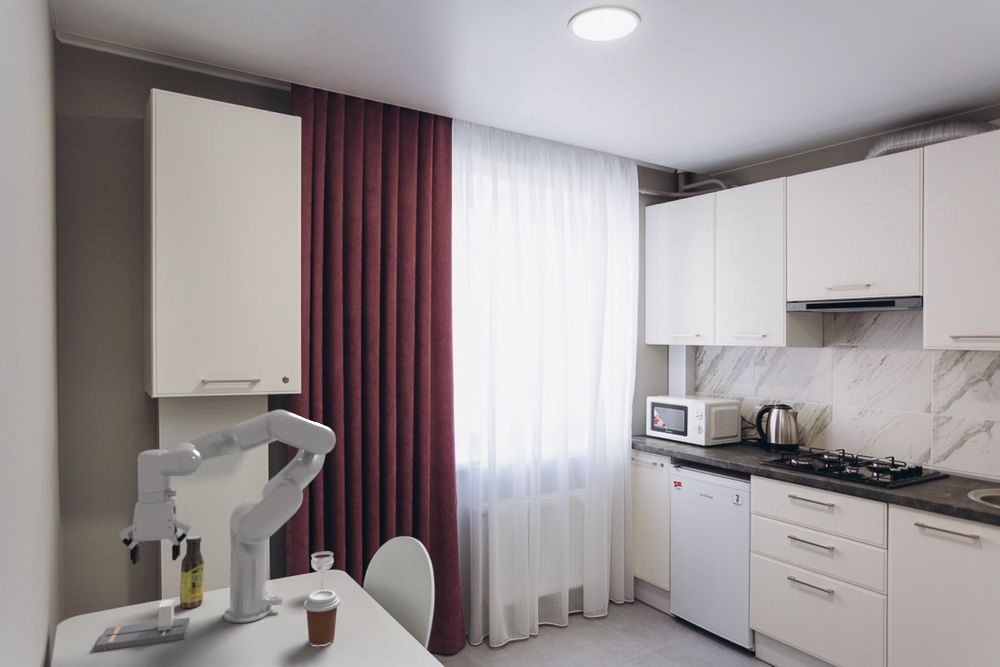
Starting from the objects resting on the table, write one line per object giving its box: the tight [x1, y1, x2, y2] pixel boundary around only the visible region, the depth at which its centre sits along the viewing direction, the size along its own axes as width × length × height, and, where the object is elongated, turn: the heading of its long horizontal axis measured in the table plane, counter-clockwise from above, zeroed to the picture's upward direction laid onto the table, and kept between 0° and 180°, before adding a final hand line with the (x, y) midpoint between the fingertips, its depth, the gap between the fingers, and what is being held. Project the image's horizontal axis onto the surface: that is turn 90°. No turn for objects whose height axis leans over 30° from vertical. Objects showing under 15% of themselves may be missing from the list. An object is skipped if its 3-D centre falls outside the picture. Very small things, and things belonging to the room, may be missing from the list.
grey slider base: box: [95, 617, 191, 652], centre depth 164 cm, size 20×10×2 cm, turn 109°
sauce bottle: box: [179, 535, 205, 609], centre depth 184 cm, size 6×6×20 cm
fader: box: [157, 599, 175, 631], centre depth 165 cm, size 3×5×6 cm, turn 19°
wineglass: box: [310, 550, 335, 590], centre depth 192 cm, size 7×7×12 cm
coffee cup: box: [303, 589, 341, 646], centre depth 161 cm, size 9×9×12 cm
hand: (155, 560), depth 165 cm, fingers open, 9 cm apart
